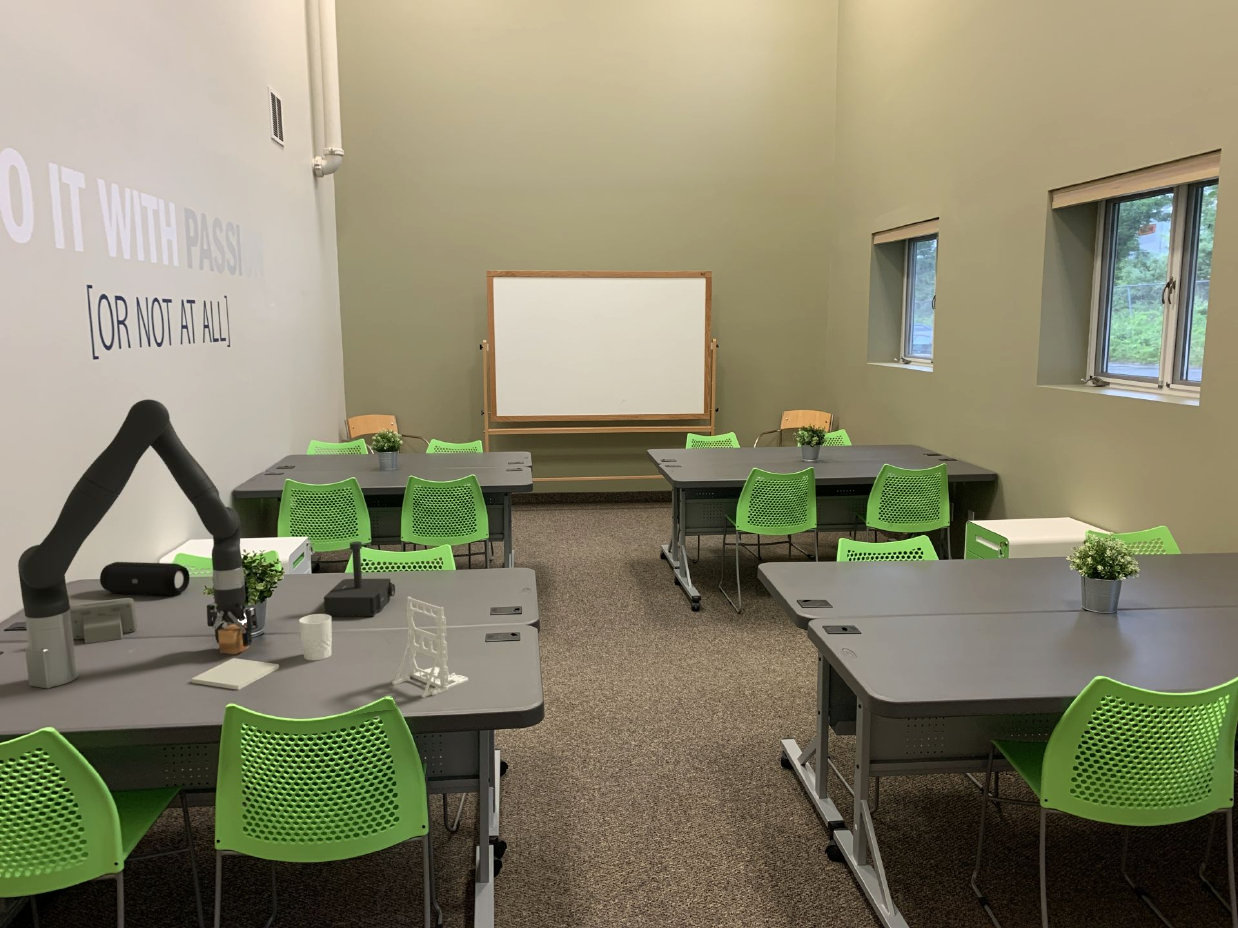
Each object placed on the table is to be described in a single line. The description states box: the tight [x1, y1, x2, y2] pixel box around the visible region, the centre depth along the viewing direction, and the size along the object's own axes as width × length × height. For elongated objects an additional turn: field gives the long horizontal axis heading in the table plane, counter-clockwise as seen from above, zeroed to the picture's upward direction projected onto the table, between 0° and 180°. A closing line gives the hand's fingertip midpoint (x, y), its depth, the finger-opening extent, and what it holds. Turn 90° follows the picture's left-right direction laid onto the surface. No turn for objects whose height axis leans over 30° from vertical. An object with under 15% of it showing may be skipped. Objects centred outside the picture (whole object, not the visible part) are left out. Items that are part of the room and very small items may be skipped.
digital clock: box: [70, 597, 138, 645], centre depth 253 cm, size 16×9×11 cm, turn 103°
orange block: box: [218, 624, 250, 655], centre depth 242 cm, size 5×5×6 cm
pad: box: [191, 657, 280, 690], centre depth 225 cm, size 14×14×1 cm
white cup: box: [298, 613, 333, 662], centre depth 237 cm, size 8×8×10 cm
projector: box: [323, 541, 396, 618], centre depth 276 cm, size 19×17×20 cm
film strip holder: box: [391, 596, 469, 698], centre depth 218 cm, size 14×14×20 cm
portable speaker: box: [99, 561, 191, 596], centre depth 293 cm, size 26×10×10 cm, turn 81°
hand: (234, 643), depth 242 cm, fingers open, 8 cm apart
